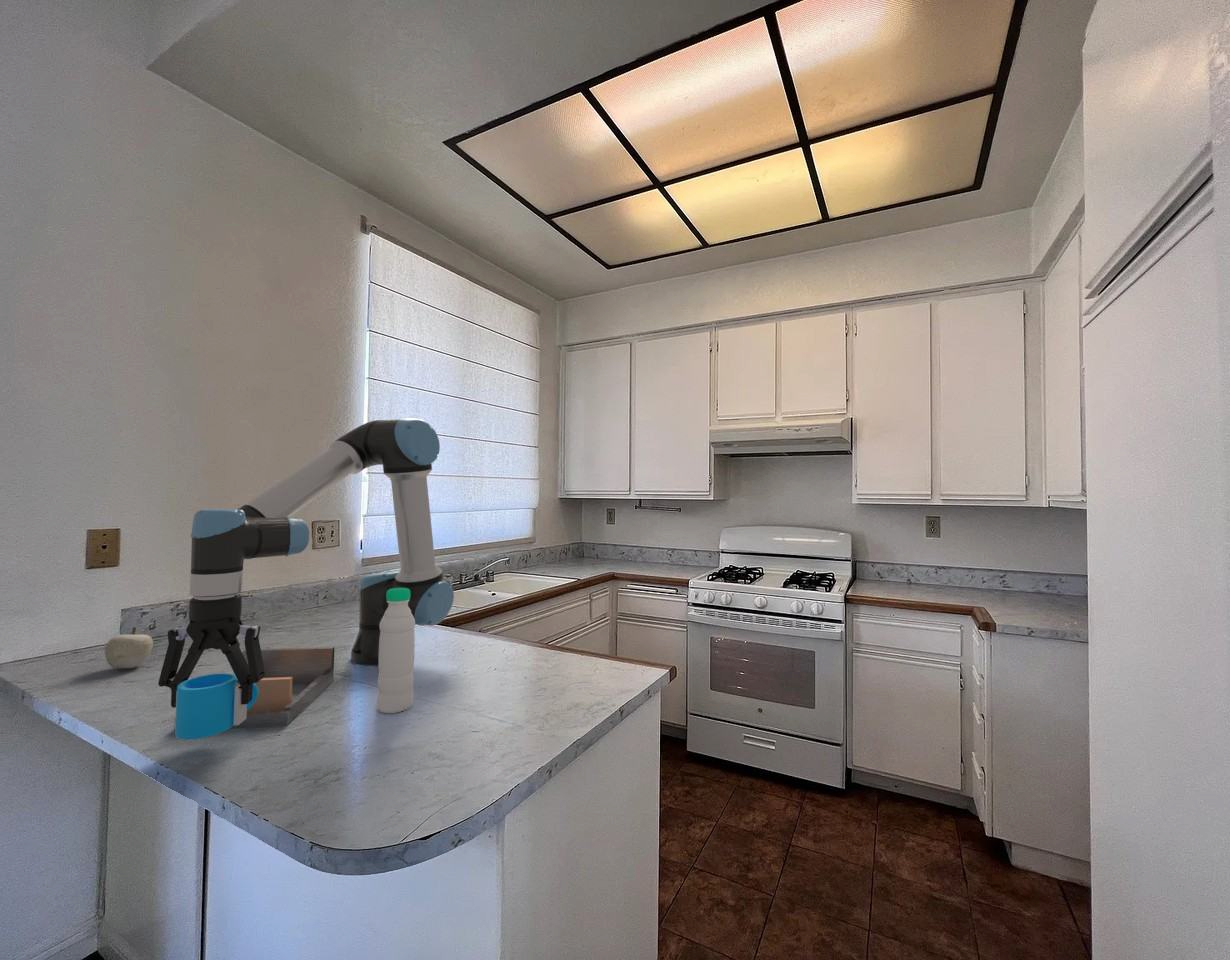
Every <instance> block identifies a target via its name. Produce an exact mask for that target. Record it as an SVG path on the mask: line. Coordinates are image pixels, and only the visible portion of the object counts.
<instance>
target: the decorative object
mask: <svg viewBox="0 0 1230 960" xmlns="http://www.w3.org/2000/svg"><path fill="white" fill-rule="evenodd" d="M136 631H137V626H133V627H132V631H131V634H118V635H115V636H113V637H111V639H109V640H108V642H107V644H106V646H105V650H104V651H105V652H104V655H105V660H106V662H107V664H108V665H109V666H110V667H111V668H113V669H115V670H118V669H119V670H121V669H135V668H137V667H138V666H140V665H142V664H143V663H144V662H145V661H146V660H147V659H148V657H149V656H150V654H151V652H152V651H153V647H154V640H153V639H152V637H151V636H150V635H149V634H136Z"/></svg>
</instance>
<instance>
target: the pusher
mask: <svg viewBox="0 0 1230 960" xmlns="http://www.w3.org/2000/svg"><path fill="white" fill-rule="evenodd" d="M292 680H293V677H280V678H263V679H261V680H260V681H258V682H257V683H255V685H256V686H257V687H258V692H259V693H258V697H257V700H256V701H255V703H254V704H253V706H252V707H251V708H250V709H249V710H247V712H258V711H279V710H284V707H285V706H286V705H288V704H289V703H290V702H291V701H292V700H293V684H292ZM239 685H240V684H239V683H236V687H238V686H239Z"/></svg>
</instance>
